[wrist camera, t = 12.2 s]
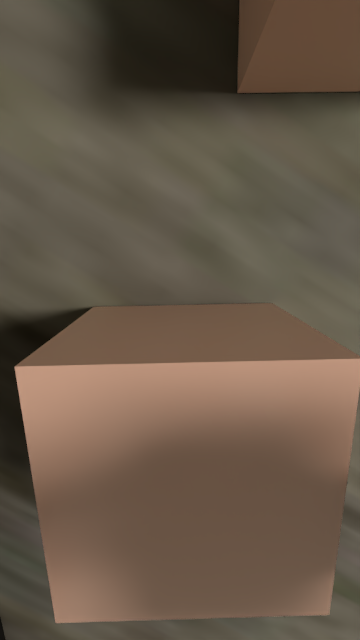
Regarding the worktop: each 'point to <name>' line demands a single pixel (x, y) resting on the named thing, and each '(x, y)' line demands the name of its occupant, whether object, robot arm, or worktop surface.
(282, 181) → the worktop surface
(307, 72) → the pink block
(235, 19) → the worktop surface
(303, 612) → the pink rectangular prism
